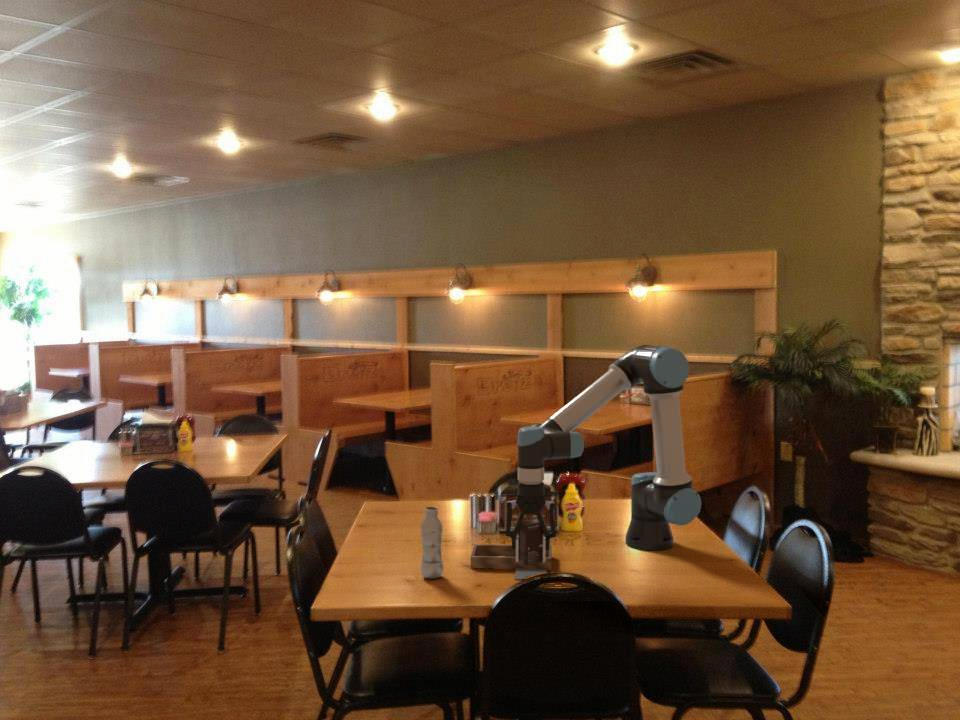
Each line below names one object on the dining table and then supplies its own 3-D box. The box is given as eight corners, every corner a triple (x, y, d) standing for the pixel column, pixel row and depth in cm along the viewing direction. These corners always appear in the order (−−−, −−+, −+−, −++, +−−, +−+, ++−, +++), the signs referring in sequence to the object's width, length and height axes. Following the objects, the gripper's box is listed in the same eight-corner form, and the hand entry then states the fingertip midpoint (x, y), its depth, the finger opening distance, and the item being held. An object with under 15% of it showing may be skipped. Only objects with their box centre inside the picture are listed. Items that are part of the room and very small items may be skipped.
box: (527, 566, 245) (526, 524, 244) (518, 562, 249) (517, 521, 248) (544, 562, 248) (543, 521, 248) (534, 558, 252) (534, 518, 251)
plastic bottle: (423, 582, 243) (422, 512, 242) (418, 574, 250) (417, 506, 248) (446, 580, 245) (445, 510, 244) (440, 572, 252) (439, 504, 250)
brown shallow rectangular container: (551, 556, 266) (551, 545, 265) (551, 570, 253) (551, 558, 253) (474, 555, 268) (474, 544, 267) (470, 568, 255) (470, 556, 255)
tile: (546, 570, 253) (546, 568, 253) (546, 580, 244) (546, 579, 244) (515, 569, 254) (515, 568, 254) (514, 579, 245) (514, 578, 245)
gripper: (565, 479, 250) (565, 557, 252) (496, 478, 251) (496, 555, 253) (566, 484, 242) (565, 565, 244) (495, 483, 244) (495, 563, 246)
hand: (530, 560), depth 249 cm, fingers closed on box, 7 cm apart
